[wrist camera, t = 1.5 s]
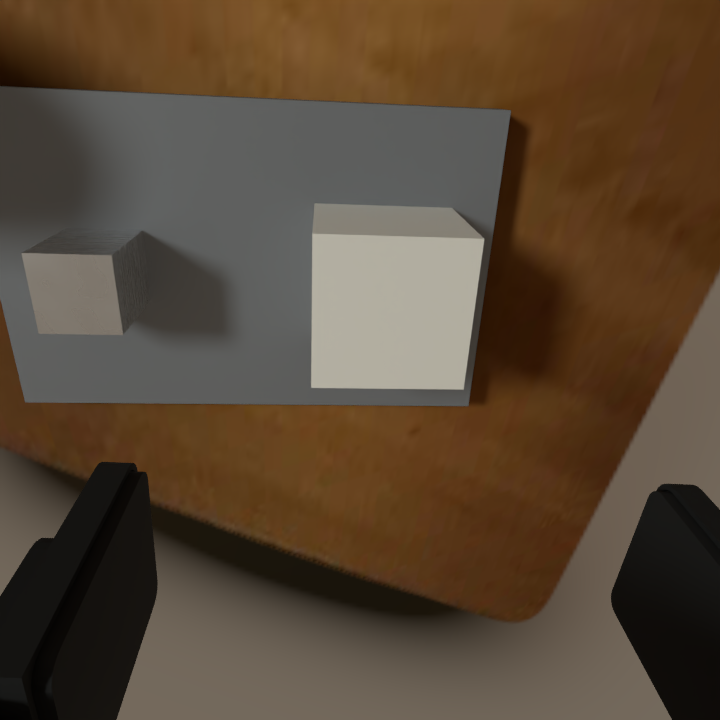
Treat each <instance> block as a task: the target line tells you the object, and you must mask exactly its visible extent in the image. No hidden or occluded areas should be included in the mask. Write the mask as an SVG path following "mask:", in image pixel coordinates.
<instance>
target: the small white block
mask: <svg viewBox="0 0 720 720" xmlns="http://www.w3.org/2000/svg"><path fill="white" fill-rule="evenodd" d="M21 254H22V259H23V263H24V268H25V272H26V277H27V282H28V286H29V291H30V296H31V300H32V305H33V310H34V314H35V319H36V323H37V328H38V333H39V334H85V335H124V333H125V332H126V331H127V330H128V328H129V327H130V326H131V325H132V323H133V322H134V321H135V320H136V318H137V317H138V316H139V315H140V313H141V312H142V311H143V310H144V309H145V307H146V306H147V305H148V304H149V302H150V301H151V298H150V290H149V281H148V273H147V265H146V257H145V248H144V240H143V232H142V231H141V230H107V229H74V228H65V229H64V230H62V231H60V232H58V233H56V234H55V235H53V236H51V237H49V238H47V239H46V240H44V241H42V242H40V243H38V244H37V245H35V246H33V247H31V248H29V249H28V250H26V251H24V252H22V253H21Z"/></svg>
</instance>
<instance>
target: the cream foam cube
mask: <svg viewBox="0 0 720 720" xmlns="http://www.w3.org/2000/svg"><path fill="white" fill-rule="evenodd" d="M483 245H484V238H483V237H482V236H481V235H480V234H479V233H478V232H477V231H476V230H475V229H474V228H473V227H471V226H470V225H469V224H468V223H467V222H466V221H465V220H464V219H463V218H462V217H461V216H460V215H459V214H458V213H457V212H456V211H455V210H454V209H453V208H441V207H411V206H381V205H351V204H322V203H315V204H314V218H313V231H312V340H311V388H363V389H455V390H464V383H465V375H466V368H467V361H468V354H469V346H470V339H471V332H472V325H473V318H474V310H475V303H476V296H477V289H478V281H479V274H480V267H481V260H482V252H483Z"/></svg>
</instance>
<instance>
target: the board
mask: <svg viewBox="0 0 720 720" xmlns="http://www.w3.org/2000/svg"><path fill="white" fill-rule="evenodd" d="M510 114H511V110H504V109H489V108H467V107H445V106H424V105H402V104H381V103H359V102H337V101H316V100H294V99H273V98H251V97H229V96H208V95H186V94H165V93H143V92H121V91H100V90H78V89H57V88H35V87H13V86H0V299H1V303H2V307H3V311H4V316H5V320H6V324H7V328H8V332H9V336H10V341H11V345H12V349H13V353H14V357H15V361H16V366H17V370H18V374H19V378H20V382H21V386H22V391H23V395H24V399H25V402H55V403H169V404H284V405H398V406H468V405H469V398H470V391H471V384H472V377H473V370H474V363H475V356H476V349H477V342H478V335H479V328H480V322H481V315H482V308H483V301H484V294H485V287H486V280H487V273H488V266H489V259H490V252H491V245H492V238H493V232H494V225H495V218H496V211H497V204H498V197H499V190H500V183H501V176H502V169H503V162H504V155H505V148H506V142H507V135H508V128H509V121H510ZM315 203H322V204H351V205H381V206H411V207H441V208H453V209H454V210H455V211H456V212H457V213H458V214H459V215H460V216H461V217H462V218H463V219H464V220H465V221H466V222H467V223H468V224H469V225H470V226H471V227H473V228H474V229H475V230H476V231H477V232H478V233H479V234H480V235H481V236H482V237H483V238H484V245H483V252H482V260H481V267H480V274H479V281H478V289H477V296H476V303H475V310H474V318H473V325H472V332H471V339H470V346H469V354H468V361H467V368H466V375H465V383H464V390H455V389H363V388H311V340H312V231H313V218H314V204H315ZM65 228H74V229H107V230H141V231H142V232H143V240H144V248H145V257H146V265H147V273H148V281H149V290H150V298H151V301H150V302H149V304H148V305H147V306H146V307H145V309H144V310H143V311H142V312H141V313H140V315H139V316H138V317H137V318H136V320H135V321H134V322H133V323H132V325H131V326H130V327H129V328H128V330H127V331H126V332H125V333H124V335H85V334H39V333H38V328H37V323H36V319H35V314H34V310H33V305H32V300H31V296H30V291H29V286H28V282H27V277H26V272H25V268H24V263H23V259H22V254H21V253H22V252H24V251H26V250H28V249H29V248H31V247H33V246H35V245H37V244H38V243H40V242H42V241H44V240H46V239H47V238H49V237H51V236H53V235H55V234H56V233H58V232H60V231H62V230H64V229H65Z"/></svg>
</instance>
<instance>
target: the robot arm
mask: <svg viewBox="0 0 720 720" xmlns="http://www.w3.org/2000/svg"><path fill="white" fill-rule="evenodd" d="M156 594H157V571H156V561H155V552H154V540H153V529H152V519H151V508H150V497H149V486H148V477H147V474H146V472H137V467H136V465H135V464H134V463H115V462H101V463H99V464H98V465H97V467H96V468H95V470H94V472H93V473H92V475H91V477H90V478H89V480H88V482H87V483H86V485H85V487H84V489H83V490H82V492H81V494H80V495H79V497H78V499H77V500H76V502H75V504H74V505H73V507H72V509H71V511H70V512H69V514H68V515H67V517H66V519H65V520H64V522H63V524H62V525H61V527H60V529H59V531H58V532H57V534H56V536H55V537H54V538H41V539H39V540H38V541H36V542H35V543H34V545H33V546H32V547H31V549H30V550H29V552H28V553H27V555H26V556H25V558H24V559H23V561H22V563H21V564H20V566H19V568H18V569H17V571H16V572H15V574H14V575H13V577H12V579H11V580H10V582H9V583H8V585H7V587H6V588H5V590H4V591H3V593H2V594H1V596H0V720H116V719H117V716H118V713H119V710H120V707H121V704H122V701H123V698H124V695H125V692H126V688H127V686H128V683H129V680H130V676H131V673H132V670H133V667H134V664H135V661H136V658H137V655H138V652H139V649H140V646H141V643H142V640H143V637H144V634H145V631H146V627H147V624H148V622H149V619H150V616H151V613H152V610H153V606H154V603H155V599H156ZM611 602H612V607H613V610H614V612H615V614H616V616H617V618H618V620H619V622H620V624H621V626H622V627H623V629H624V631H625V633H626V635H627V637H628V639H629V640H630V642H631V644H632V646H633V648H634V650H635V652H636V653H637V655H638V657H639V659H640V661H641V663H642V665H643V666H644V668H645V670H646V672H647V674H648V676H649V678H650V679H651V681H652V683H653V685H654V687H655V689H656V690H657V692H658V694H659V696H660V698H661V700H662V702H663V703H664V705H665V707H666V709H667V711H668V713H669V715H670V716H671V718H672V720H720V510H719V509H718V507H717V506H716V505H715V504H714V503H713V502H712V501H711V500H710V499H709V498H708V496H707V495H706V494H705V493H704V492H703V491H702V490H701V489H700V488H699V487H697V486H695V485H683V484H663V485H661V486H660V487H658V489H657V491H654V492H652V493H651V494H650V495H649V497H648V499H647V502H646V505H645V507H644V510H643V512H642V515H641V517H640V520H639V523H638V525H637V528H636V531H635V533H634V536H633V538H632V541H631V543H630V546H629V548H628V551H627V554H626V556H625V559H624V561H623V564H622V566H621V569H620V572H619V574H618V577H617V579H616V582H615V585H614V587H613V590H612V593H611Z"/></svg>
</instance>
